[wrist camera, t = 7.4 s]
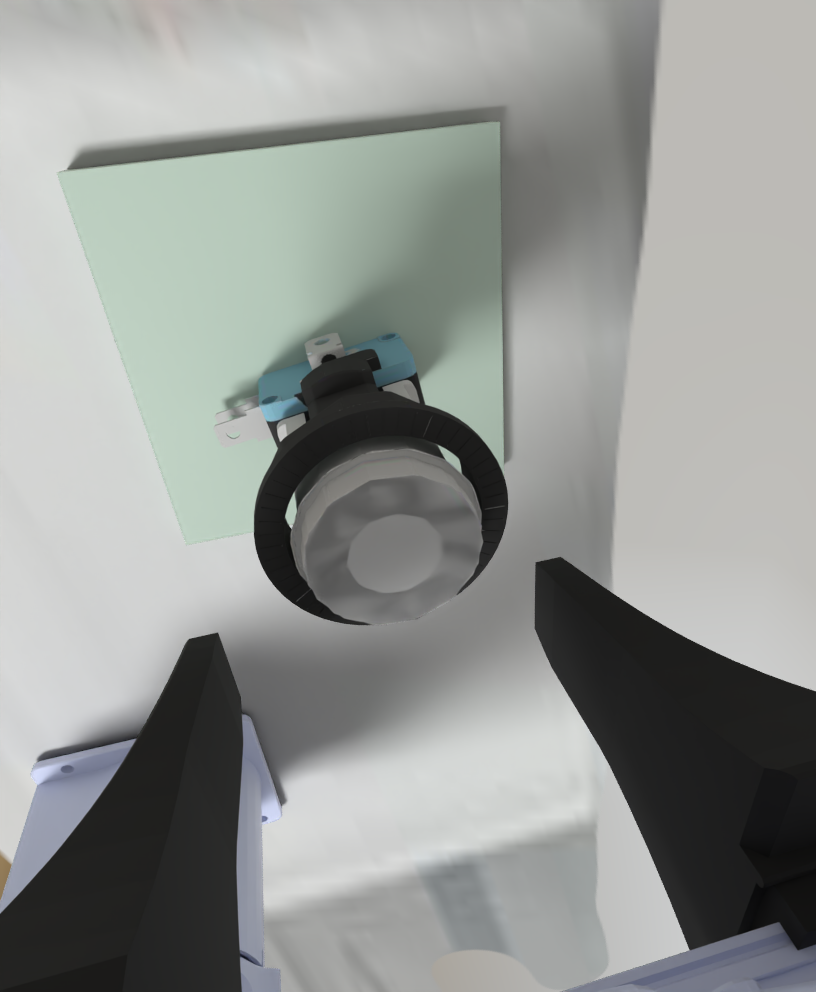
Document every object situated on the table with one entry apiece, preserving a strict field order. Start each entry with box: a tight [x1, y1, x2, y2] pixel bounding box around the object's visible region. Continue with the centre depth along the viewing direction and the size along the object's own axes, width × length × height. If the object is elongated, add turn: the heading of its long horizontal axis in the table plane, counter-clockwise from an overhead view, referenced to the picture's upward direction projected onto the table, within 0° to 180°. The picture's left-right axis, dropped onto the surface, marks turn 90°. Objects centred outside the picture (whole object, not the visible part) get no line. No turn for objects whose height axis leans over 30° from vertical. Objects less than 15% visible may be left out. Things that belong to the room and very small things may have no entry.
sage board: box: [57, 122, 504, 545], centre depth 21 cm, size 12×12×1 cm
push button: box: [214, 333, 508, 625], centre depth 16 cm, size 7×5×10 cm
